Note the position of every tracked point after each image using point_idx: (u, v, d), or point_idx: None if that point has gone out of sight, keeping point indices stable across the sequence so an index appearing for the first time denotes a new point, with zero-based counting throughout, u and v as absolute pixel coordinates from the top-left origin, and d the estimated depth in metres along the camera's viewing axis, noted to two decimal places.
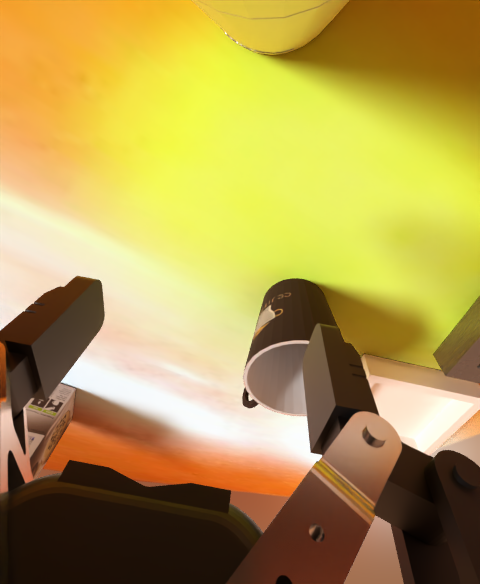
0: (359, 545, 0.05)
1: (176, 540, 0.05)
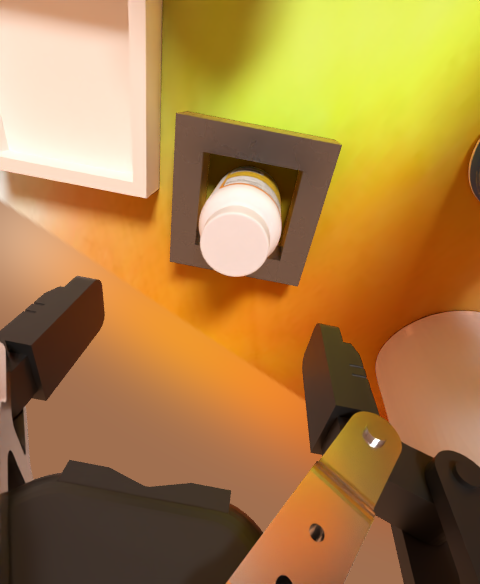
0: (359, 545, 0.05)
1: (176, 540, 0.05)
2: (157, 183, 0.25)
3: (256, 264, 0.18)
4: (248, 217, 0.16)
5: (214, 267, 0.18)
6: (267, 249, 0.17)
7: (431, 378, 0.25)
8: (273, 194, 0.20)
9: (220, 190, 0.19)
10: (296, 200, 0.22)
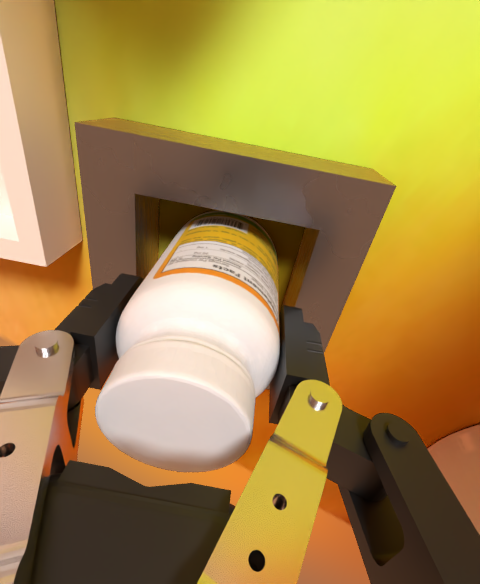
0: (318, 501, 0.05)
1: (176, 540, 0.05)
2: (76, 233, 0.15)
3: (225, 458, 0.08)
4: (200, 384, 0.07)
5: (135, 457, 0.08)
6: (248, 438, 0.08)
7: None
8: (264, 278, 0.11)
9: (152, 286, 0.09)
10: (305, 276, 0.13)
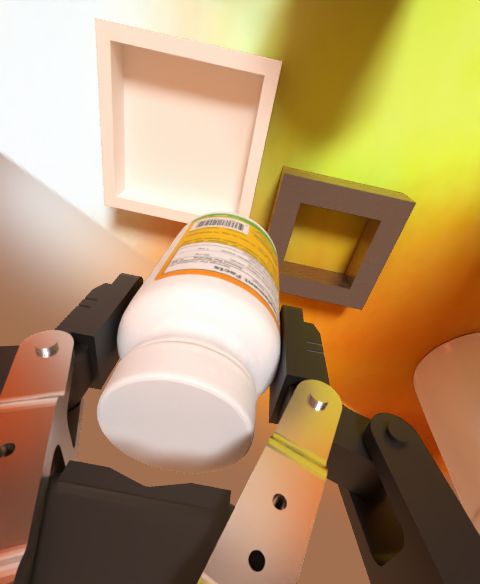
0: (318, 502, 0.05)
1: (176, 540, 0.05)
2: None
3: (226, 459, 0.08)
4: (202, 385, 0.07)
5: (137, 458, 0.09)
6: (249, 439, 0.08)
7: (473, 389, 0.30)
8: (265, 279, 0.11)
9: (154, 287, 0.09)
10: (371, 242, 0.27)
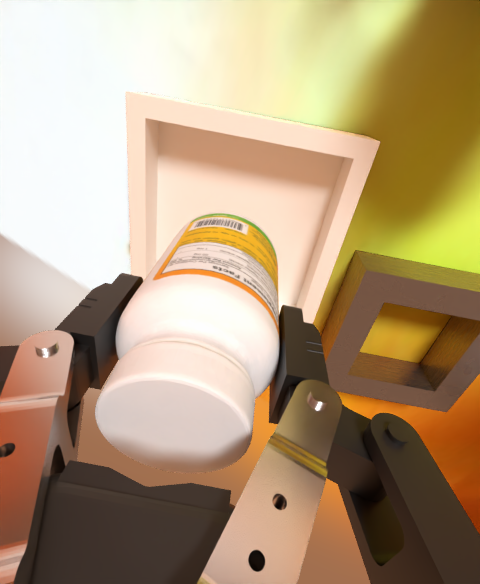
0: (318, 501, 0.05)
1: (176, 540, 0.05)
2: None
3: (224, 460, 0.08)
4: (200, 385, 0.07)
5: (135, 458, 0.09)
6: (248, 439, 0.08)
7: None
8: (264, 279, 0.11)
9: (152, 287, 0.09)
10: (471, 344, 0.21)
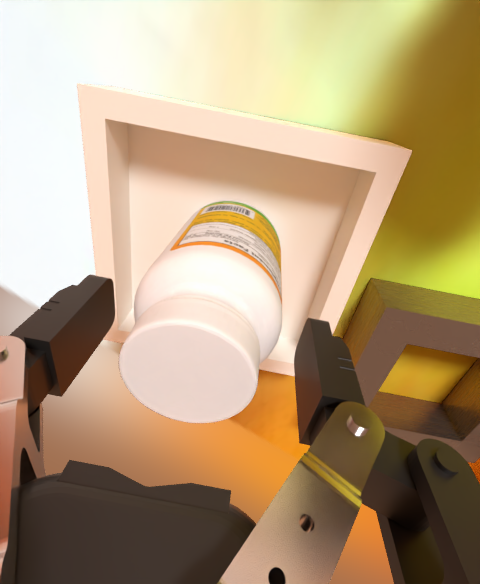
0: (348, 531, 0.05)
1: (176, 540, 0.05)
2: None
3: (232, 408, 0.09)
4: (214, 331, 0.08)
5: (151, 407, 0.09)
6: (254, 387, 0.09)
7: None
8: (269, 256, 0.12)
9: (170, 255, 0.10)
10: None
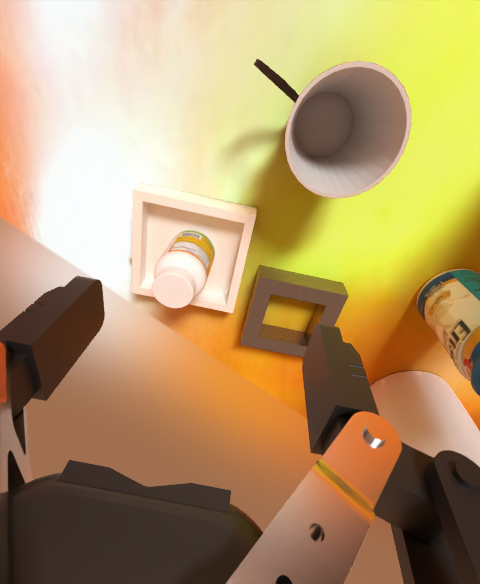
0: (359, 545, 0.05)
1: (176, 540, 0.05)
2: None
3: (186, 302, 0.30)
4: (180, 276, 0.28)
5: (161, 302, 0.30)
6: (192, 294, 0.29)
7: (395, 416, 0.42)
8: (203, 255, 0.32)
9: (167, 254, 0.30)
10: (321, 318, 0.39)
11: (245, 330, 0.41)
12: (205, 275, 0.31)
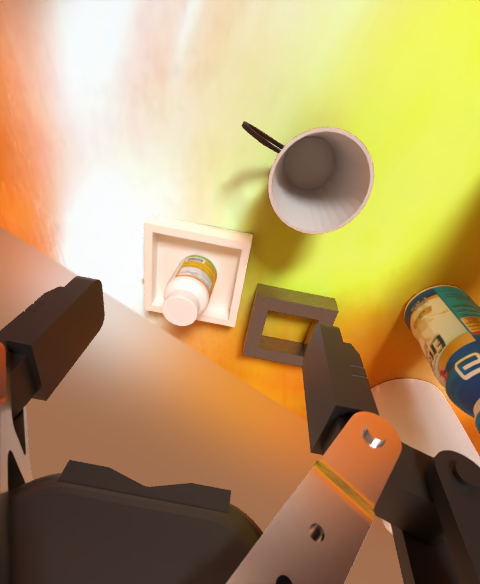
0: (359, 545, 0.05)
1: (176, 540, 0.05)
2: None
3: (191, 320, 0.34)
4: (186, 299, 0.33)
5: (169, 320, 0.34)
6: (196, 314, 0.34)
7: None
8: (206, 278, 0.37)
9: (175, 279, 0.35)
10: None
11: (246, 342, 0.45)
12: (208, 296, 0.36)
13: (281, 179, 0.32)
